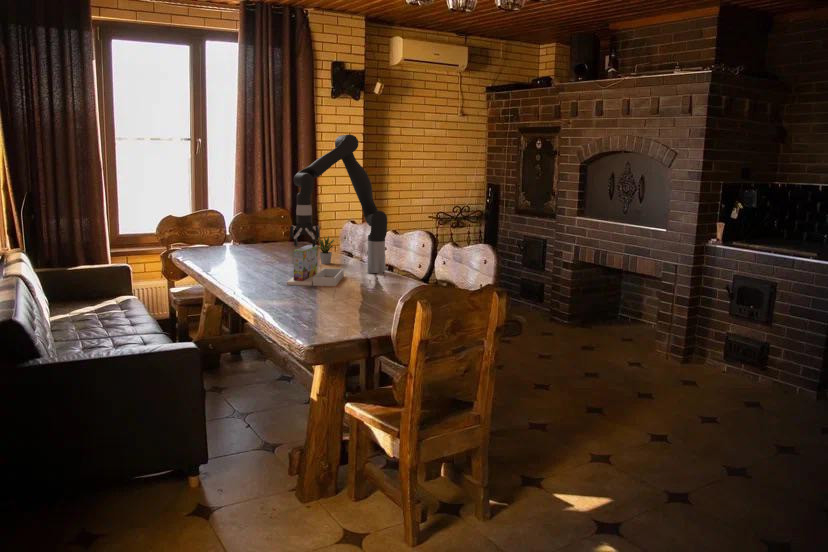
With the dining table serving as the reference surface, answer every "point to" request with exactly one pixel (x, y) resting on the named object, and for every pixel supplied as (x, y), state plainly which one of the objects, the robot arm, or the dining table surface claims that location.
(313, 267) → the snack box
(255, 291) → the dining table surface
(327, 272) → the bin
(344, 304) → the dining table surface
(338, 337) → the dining table surface
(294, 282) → the board
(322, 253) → the house plant
